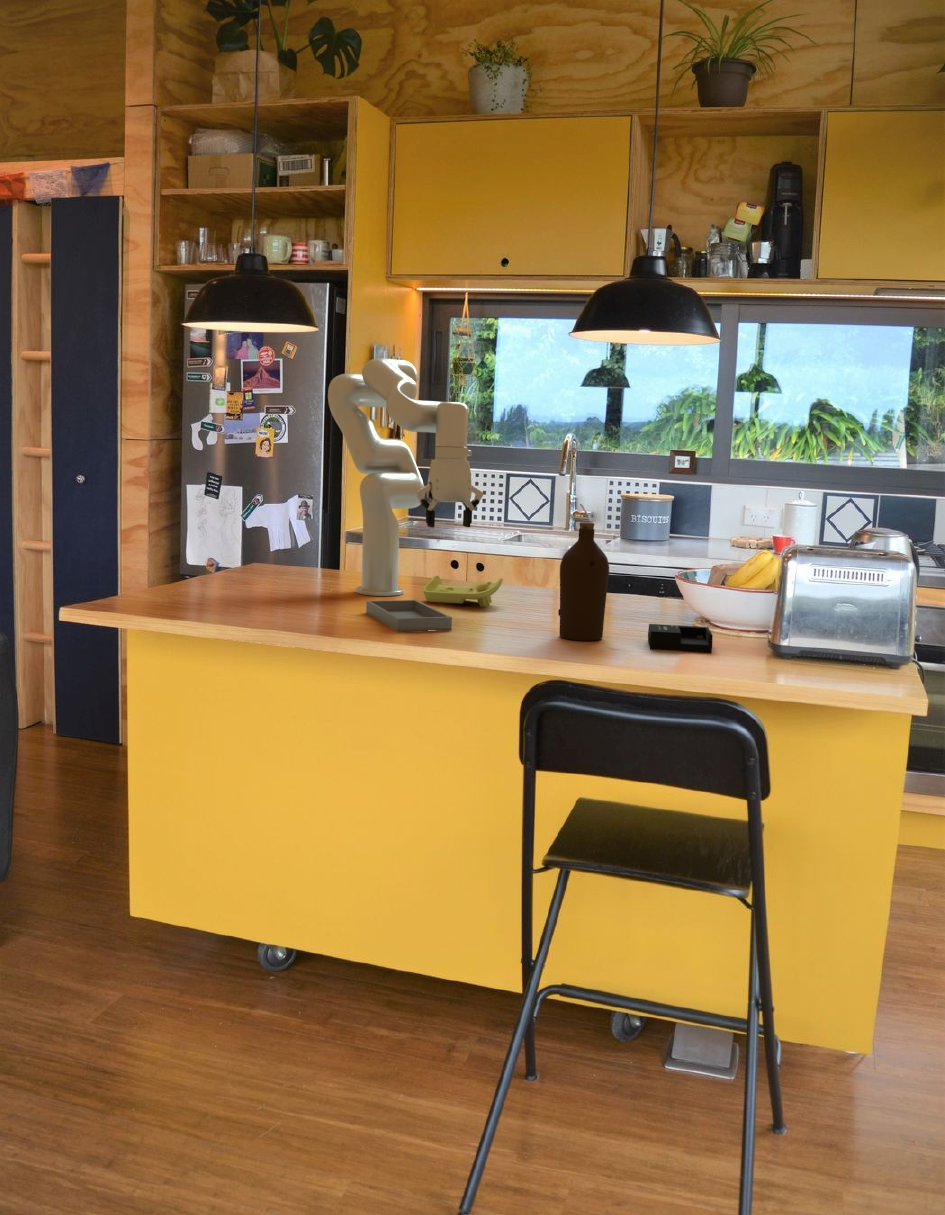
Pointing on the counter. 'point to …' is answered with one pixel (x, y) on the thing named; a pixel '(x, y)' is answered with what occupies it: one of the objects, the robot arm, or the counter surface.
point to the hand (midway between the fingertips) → (448, 526)
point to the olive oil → (583, 588)
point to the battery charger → (680, 638)
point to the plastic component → (460, 592)
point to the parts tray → (408, 615)
